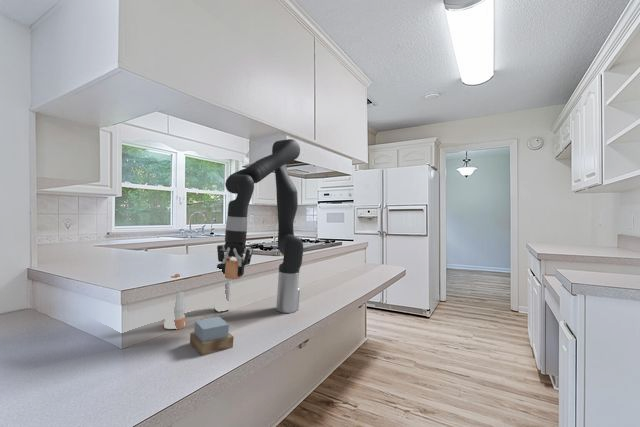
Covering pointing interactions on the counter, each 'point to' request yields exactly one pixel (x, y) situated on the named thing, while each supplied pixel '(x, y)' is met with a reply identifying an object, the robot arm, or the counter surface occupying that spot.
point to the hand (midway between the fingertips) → (232, 274)
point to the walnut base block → (211, 344)
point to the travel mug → (227, 285)
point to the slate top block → (211, 329)
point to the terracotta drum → (231, 269)
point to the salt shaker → (179, 308)
